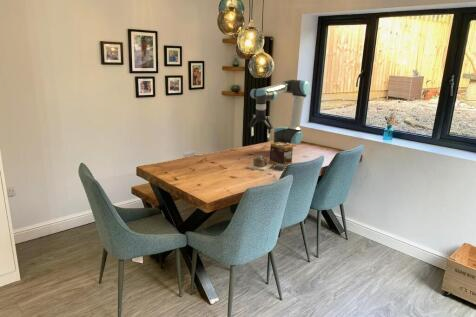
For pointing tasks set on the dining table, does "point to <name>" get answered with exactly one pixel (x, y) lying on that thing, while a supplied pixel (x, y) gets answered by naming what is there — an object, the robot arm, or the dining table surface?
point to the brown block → (260, 162)
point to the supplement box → (281, 153)
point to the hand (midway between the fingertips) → (260, 136)
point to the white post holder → (260, 167)
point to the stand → (279, 166)
